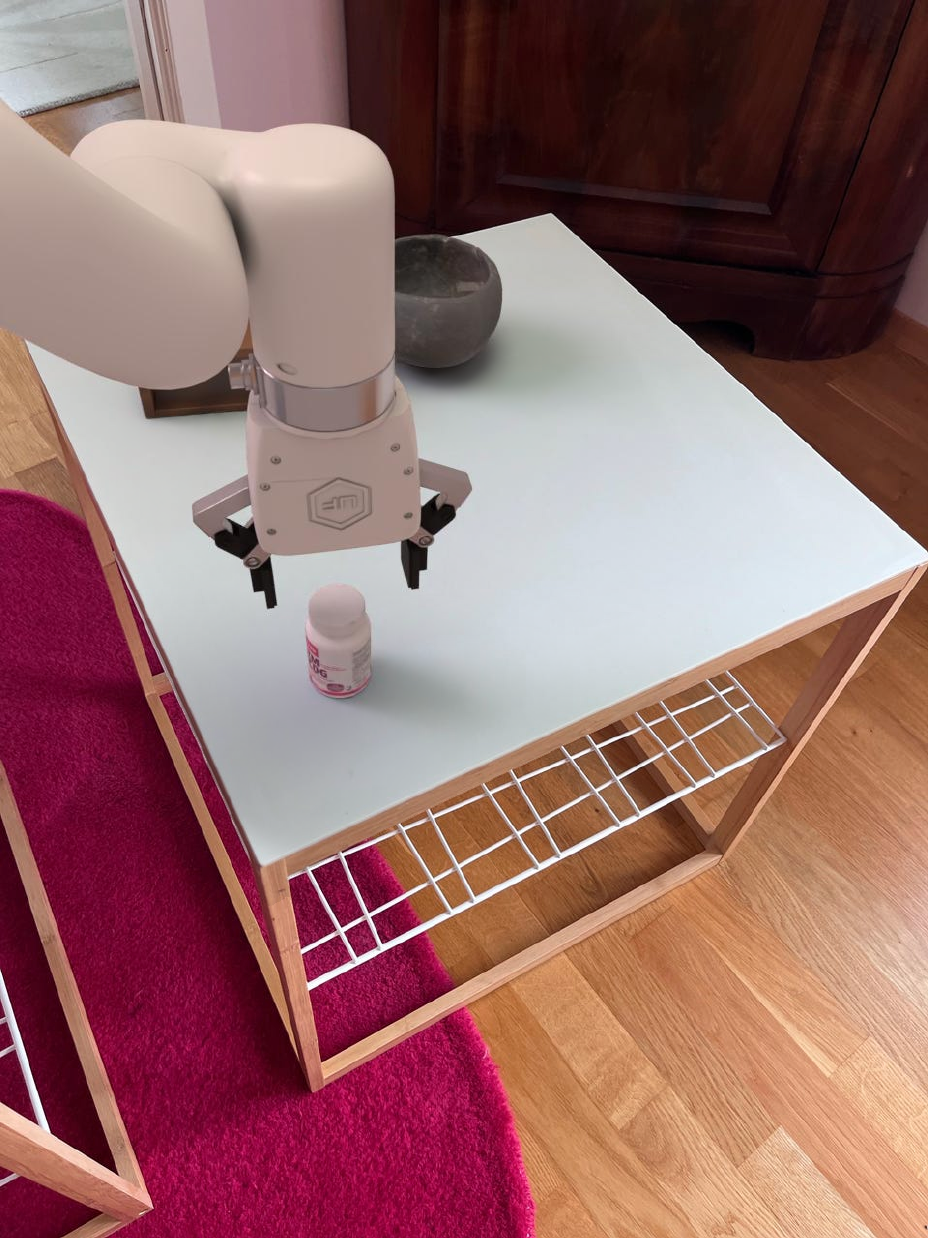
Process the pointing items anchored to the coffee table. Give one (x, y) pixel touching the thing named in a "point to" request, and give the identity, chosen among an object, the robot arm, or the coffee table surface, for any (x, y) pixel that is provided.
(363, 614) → the pill bottle
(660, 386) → the coffee table surface
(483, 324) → the bowl
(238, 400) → the shelf
